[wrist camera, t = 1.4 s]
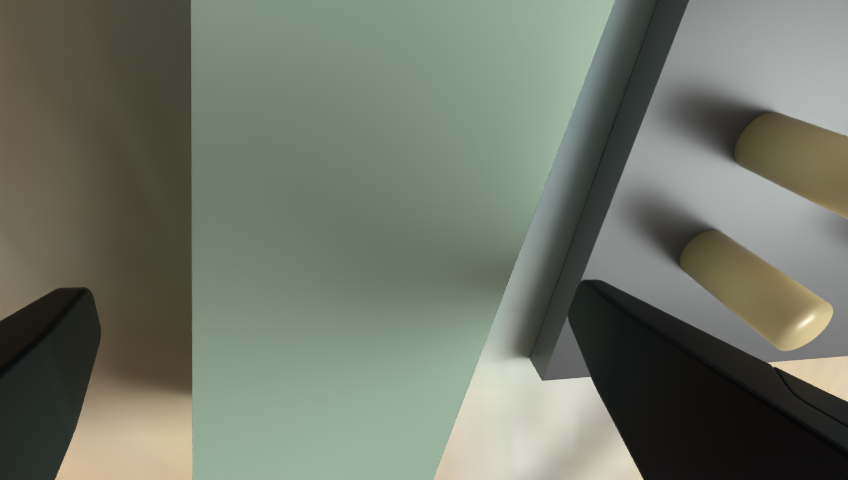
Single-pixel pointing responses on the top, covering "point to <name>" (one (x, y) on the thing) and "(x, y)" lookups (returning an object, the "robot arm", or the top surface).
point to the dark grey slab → (724, 183)
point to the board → (362, 217)
